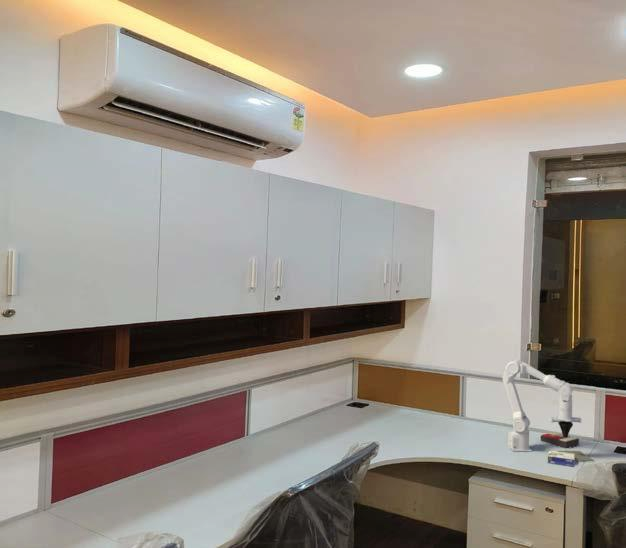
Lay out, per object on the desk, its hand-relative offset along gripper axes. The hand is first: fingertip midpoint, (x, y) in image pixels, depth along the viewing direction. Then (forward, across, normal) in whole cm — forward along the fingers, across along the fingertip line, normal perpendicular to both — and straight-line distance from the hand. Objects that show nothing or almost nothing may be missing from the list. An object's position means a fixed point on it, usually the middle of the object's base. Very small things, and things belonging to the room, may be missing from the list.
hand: (565, 437), depth 269 cm
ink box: (+8, -2, -1) cm, 8 cm away
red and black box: (+10, +7, +22) cm, 25 cm away
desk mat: (+9, +5, 0) cm, 11 cm away
